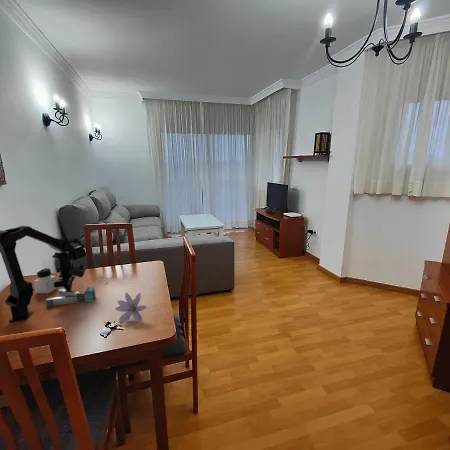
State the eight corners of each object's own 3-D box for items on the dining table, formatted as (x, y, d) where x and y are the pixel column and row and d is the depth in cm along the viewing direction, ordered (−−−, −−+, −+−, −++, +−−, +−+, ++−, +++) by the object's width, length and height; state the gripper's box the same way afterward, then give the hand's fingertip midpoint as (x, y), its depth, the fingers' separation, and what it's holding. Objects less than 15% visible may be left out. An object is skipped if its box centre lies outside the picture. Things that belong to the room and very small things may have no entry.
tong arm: (81, 296, 131) (80, 291, 130) (77, 299, 129) (76, 293, 128) (63, 293, 135) (62, 288, 134) (59, 295, 133) (58, 290, 132)
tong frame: (86, 298, 130) (85, 292, 129) (83, 302, 126) (82, 296, 125) (50, 302, 127) (49, 296, 126) (46, 306, 123) (45, 300, 122)
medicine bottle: (58, 287, 142) (54, 267, 140) (48, 293, 135) (44, 272, 133) (46, 287, 143) (42, 266, 140) (35, 293, 136) (31, 272, 133)
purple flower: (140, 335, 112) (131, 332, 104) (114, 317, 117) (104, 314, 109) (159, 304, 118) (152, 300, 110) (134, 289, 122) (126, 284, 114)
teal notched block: (95, 295, 132) (94, 286, 131) (92, 301, 126) (90, 291, 125) (89, 296, 131) (87, 287, 130) (85, 302, 126) (84, 292, 125)
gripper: (76, 269, 123) (81, 298, 127) (87, 256, 141) (91, 282, 145) (50, 271, 121) (55, 301, 125) (65, 258, 139) (69, 284, 142)
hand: (69, 291), depth 134 cm, fingers closed
